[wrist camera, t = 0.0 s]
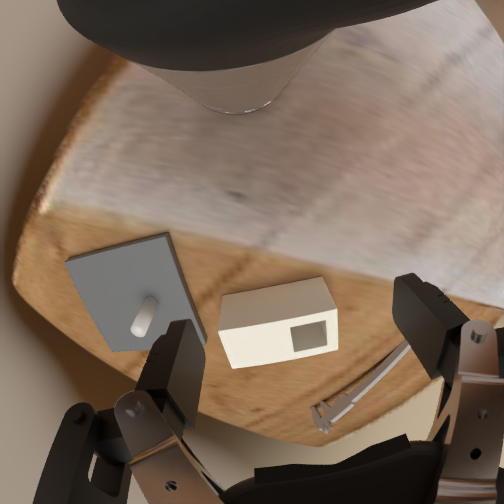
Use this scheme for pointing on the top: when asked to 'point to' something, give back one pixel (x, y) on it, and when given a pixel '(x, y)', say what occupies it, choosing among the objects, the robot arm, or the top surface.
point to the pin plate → (134, 291)
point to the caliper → (356, 391)
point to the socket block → (278, 323)
